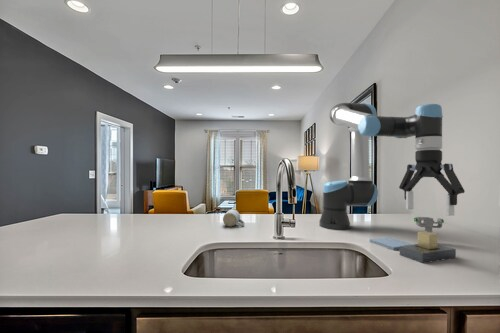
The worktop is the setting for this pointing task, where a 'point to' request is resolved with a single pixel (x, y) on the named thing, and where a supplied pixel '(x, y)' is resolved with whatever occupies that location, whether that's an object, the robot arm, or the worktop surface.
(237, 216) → the ceramic mug
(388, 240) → the blue mat
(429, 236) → the brass block
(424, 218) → the mechanical component
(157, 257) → the worktop surface
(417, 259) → the grey recessed block
